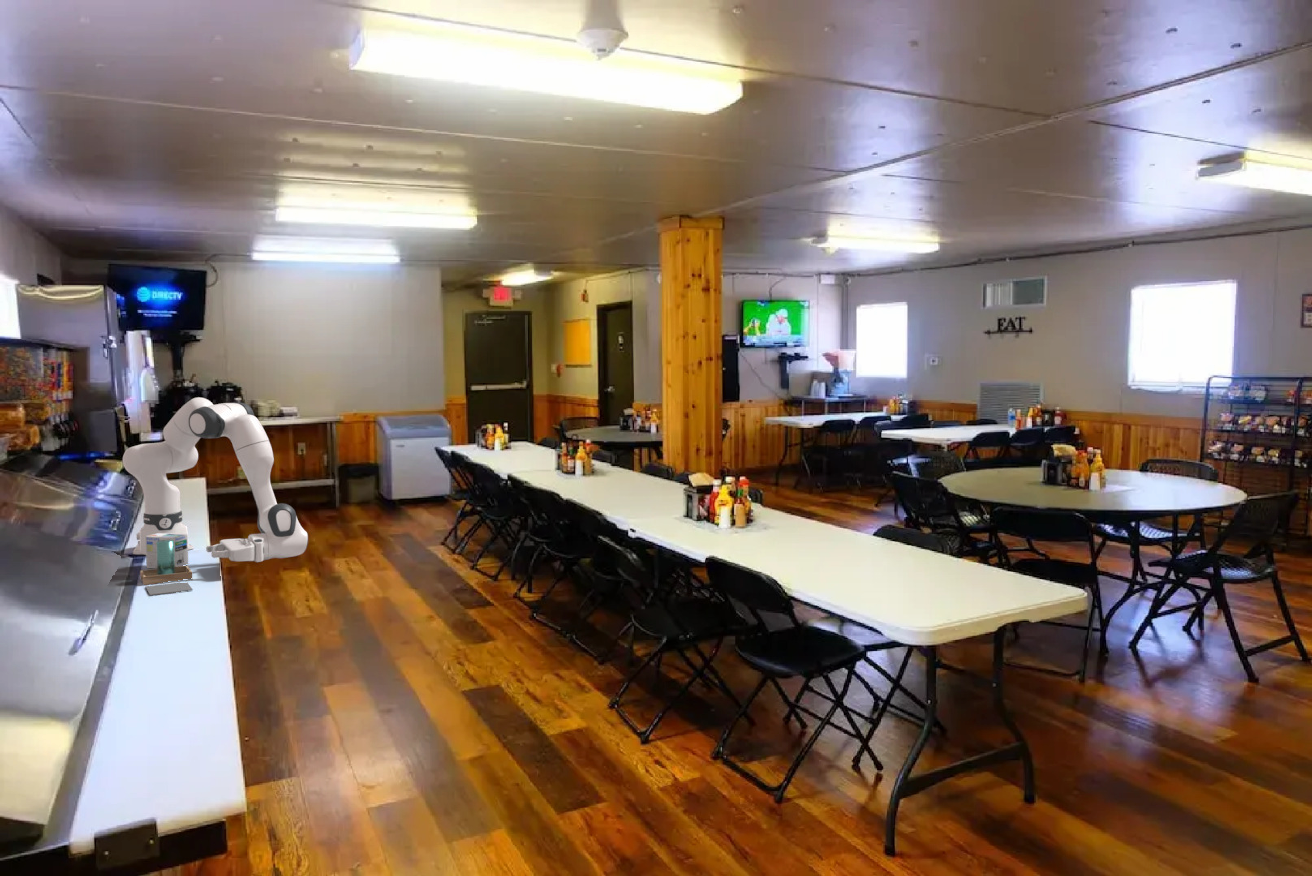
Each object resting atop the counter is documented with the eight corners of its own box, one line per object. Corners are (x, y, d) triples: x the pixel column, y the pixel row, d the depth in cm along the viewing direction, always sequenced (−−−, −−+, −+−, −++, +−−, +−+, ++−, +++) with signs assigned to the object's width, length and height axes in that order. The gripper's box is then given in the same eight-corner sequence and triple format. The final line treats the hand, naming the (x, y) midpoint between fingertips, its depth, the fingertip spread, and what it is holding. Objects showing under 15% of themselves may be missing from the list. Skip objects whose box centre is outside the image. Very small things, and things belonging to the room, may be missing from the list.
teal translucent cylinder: (156, 578, 269) (155, 540, 268) (174, 576, 272) (173, 539, 271) (158, 581, 265) (157, 543, 264) (176, 579, 268) (175, 541, 267)
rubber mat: (145, 587, 258) (145, 586, 258) (186, 582, 264) (186, 581, 264) (149, 595, 249) (149, 594, 249) (192, 590, 255) (192, 589, 255)
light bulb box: (189, 565, 287) (188, 533, 286) (176, 569, 280) (175, 537, 279) (159, 563, 288) (158, 532, 287) (145, 568, 281) (144, 535, 281)
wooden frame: (140, 578, 268) (140, 570, 268) (187, 573, 276) (187, 565, 276) (144, 585, 260) (143, 577, 260) (192, 579, 268) (192, 571, 268)
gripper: (248, 532, 291) (203, 536, 283) (262, 543, 275) (214, 547, 267) (249, 551, 292) (203, 555, 283) (262, 562, 275) (215, 567, 267)
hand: (209, 552), depth 275 cm, fingers open, 8 cm apart
